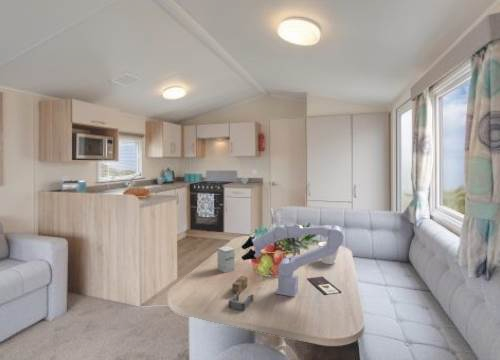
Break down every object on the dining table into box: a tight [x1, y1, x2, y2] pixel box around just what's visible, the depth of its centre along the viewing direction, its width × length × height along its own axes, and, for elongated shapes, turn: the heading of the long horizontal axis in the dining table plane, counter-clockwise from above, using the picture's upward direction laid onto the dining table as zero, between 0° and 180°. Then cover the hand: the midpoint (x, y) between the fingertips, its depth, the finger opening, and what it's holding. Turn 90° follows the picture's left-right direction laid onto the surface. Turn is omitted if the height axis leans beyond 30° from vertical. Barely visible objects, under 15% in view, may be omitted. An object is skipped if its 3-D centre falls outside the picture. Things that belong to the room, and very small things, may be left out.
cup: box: [318, 241, 340, 265], centre depth 178 cm, size 12×12×11 cm
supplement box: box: [217, 245, 236, 273], centre depth 165 cm, size 7×7×13 cm
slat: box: [231, 275, 248, 296], centre depth 140 cm, size 10×4×5 cm, turn 157°
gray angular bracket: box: [228, 291, 254, 312], centre depth 127 cm, size 8×10×3 cm
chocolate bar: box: [307, 276, 342, 296], centre depth 145 cm, size 9×1×18 cm
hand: (242, 253), depth 143 cm, fingers open, 7 cm apart
